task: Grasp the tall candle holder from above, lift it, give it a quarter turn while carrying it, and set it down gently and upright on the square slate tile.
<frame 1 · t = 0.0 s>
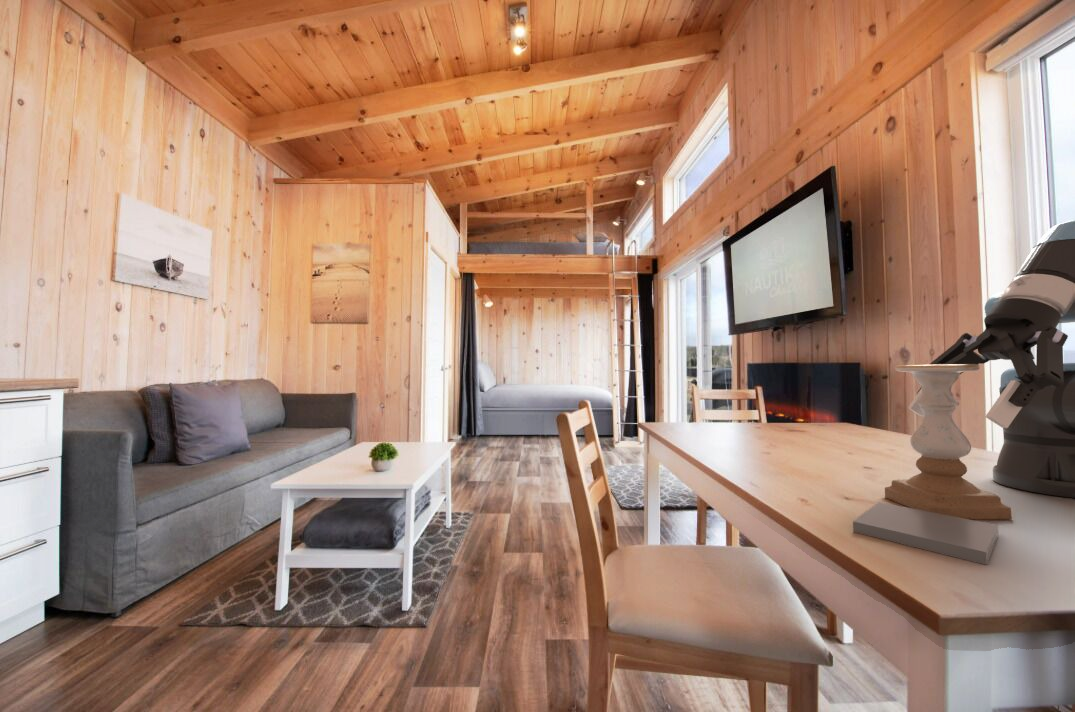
hand: (951, 417, 66), 15 cm above the table, tool tilted 35°, fingers open, 13 cm apart
slate tile: (924, 533, 58), on the table
candle holder: (943, 508, 68), on the table
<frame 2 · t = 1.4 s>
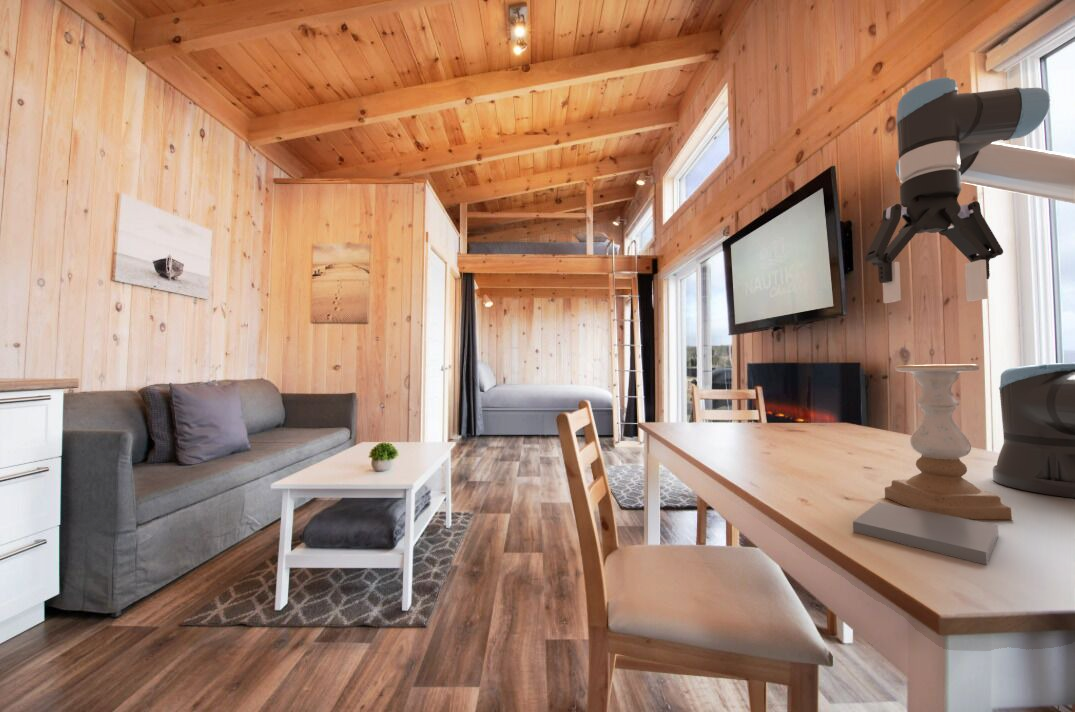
hand: (934, 301, 69), 35 cm above the table, tool pointing down, fingers open, 13 cm apart
nothing on the table moved.
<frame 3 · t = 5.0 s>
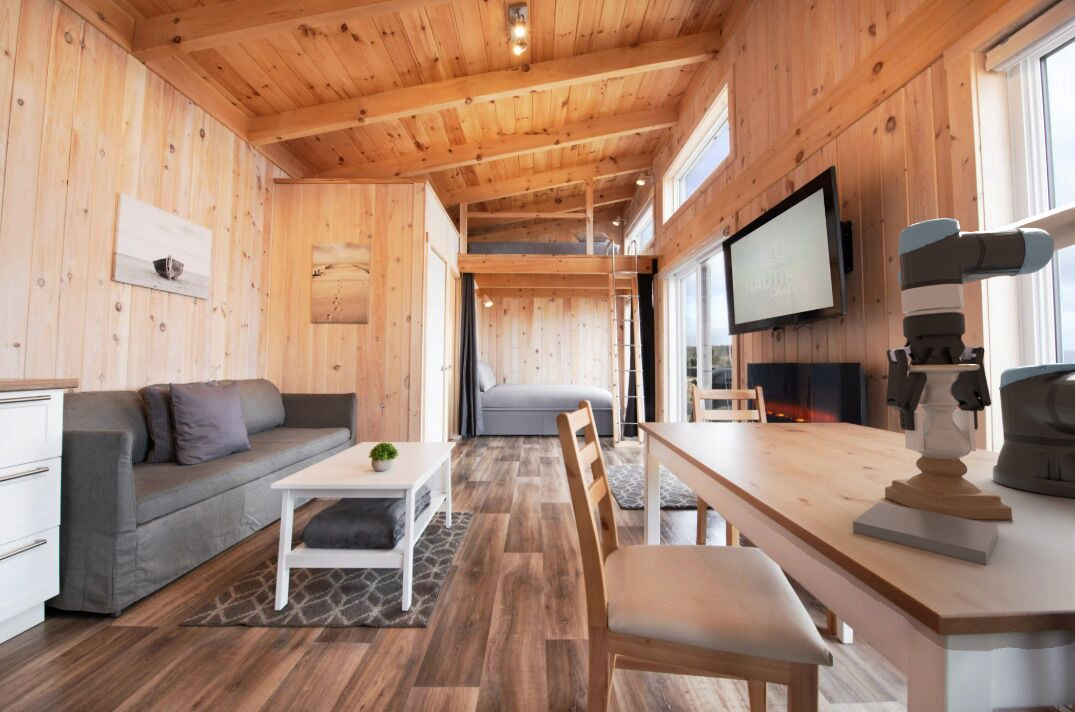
hand: (940, 449, 68), 10 cm above the table, tool pointing down, fingers closed on candle holder, 7 cm apart
candle holder: (943, 508, 68), on the table, touching gripper
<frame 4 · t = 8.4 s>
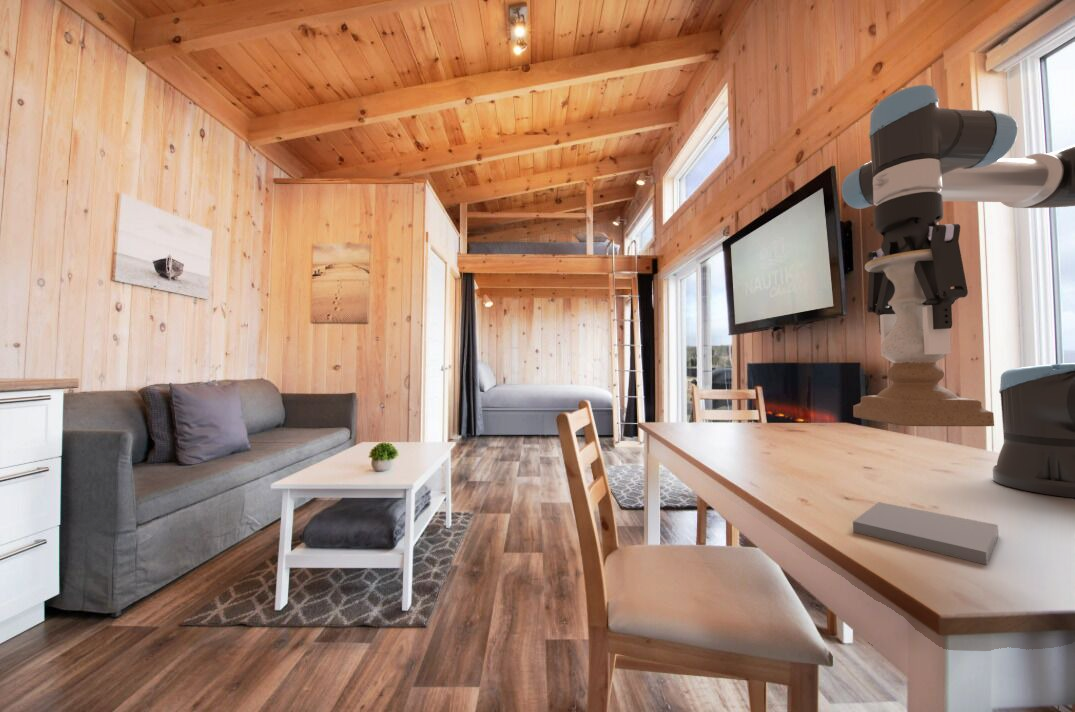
hand: (913, 355, 59), 25 cm above the table, tool pointing down, fingers closed on candle holder, 7 cm apart
candle holder: (916, 422, 59), point 16 cm above the table, touching gripper
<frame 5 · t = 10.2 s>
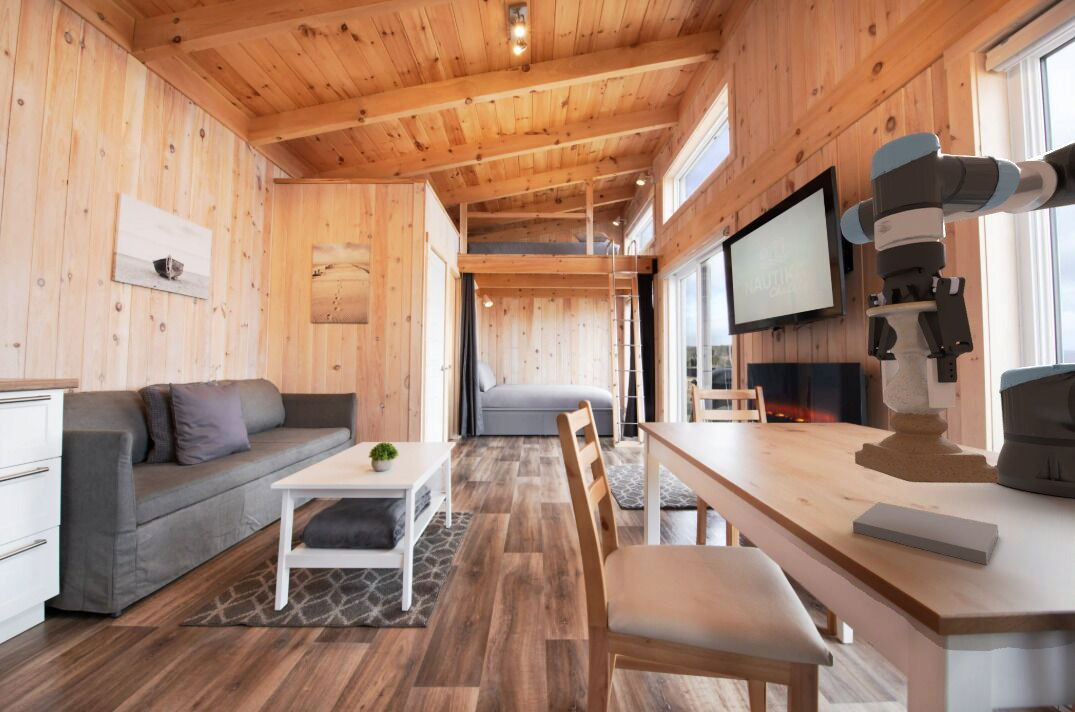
hand: (916, 404, 58), 18 cm above the table, tool pointing down, fingers closed on candle holder, 7 cm apart
candle holder: (920, 473, 58), point 8 cm above the table, touching gripper
when the fingers open (13 cm above the table, at t = 11.9 s): candle holder drops 1 cm, resting on slate tile.
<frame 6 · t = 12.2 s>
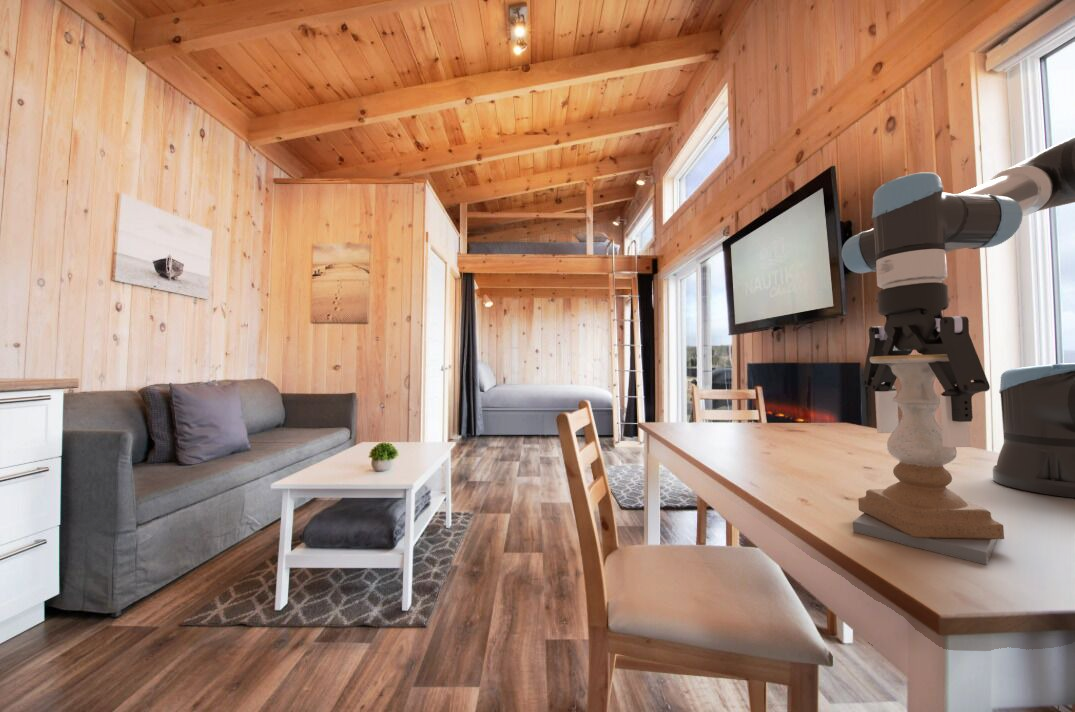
hand: (919, 439, 58), 13 cm above the table, tool pointing down, fingers open, 10 cm apart
candle holder: (924, 524, 58), point 1 cm above the table, touching slate tile
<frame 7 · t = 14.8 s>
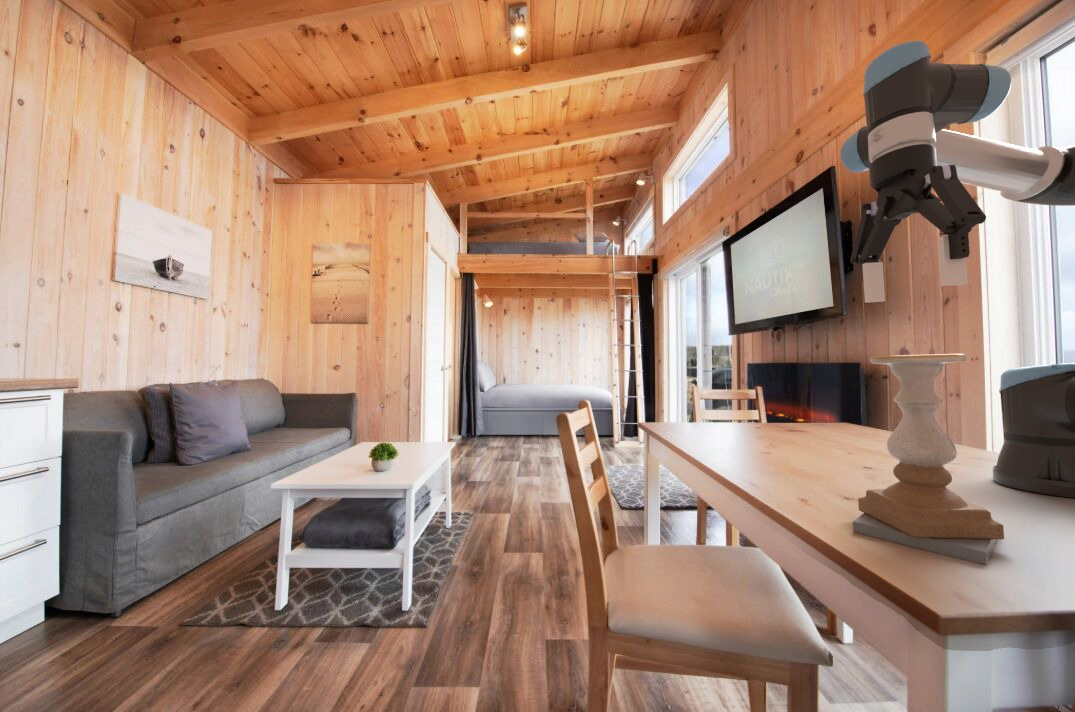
hand: (910, 294, 61), 34 cm above the table, tool pointing down, fingers open, 13 cm apart
nothing on the table moved.
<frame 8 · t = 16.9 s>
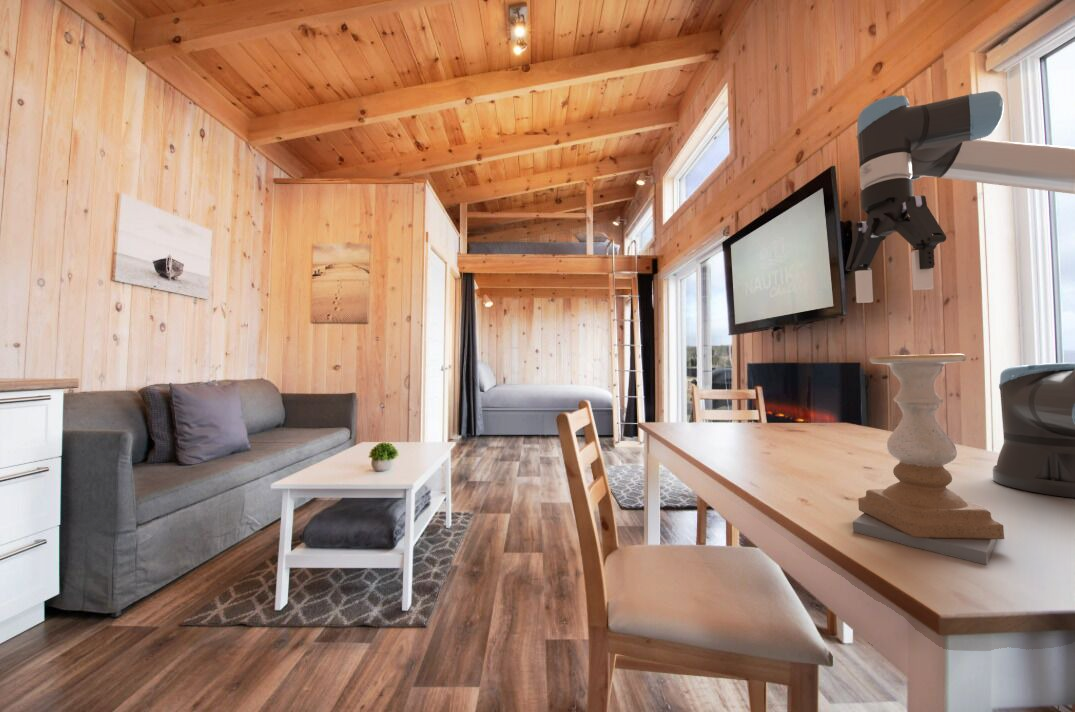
hand: (891, 296, 76), 37 cm above the table, tool pointing down, fingers open, 13 cm apart
nothing on the table moved.
at the end: candle holder 0.1 cm from the slate tile (horizontally); candle holder tilted 0°; candle holder touching slate tile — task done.
